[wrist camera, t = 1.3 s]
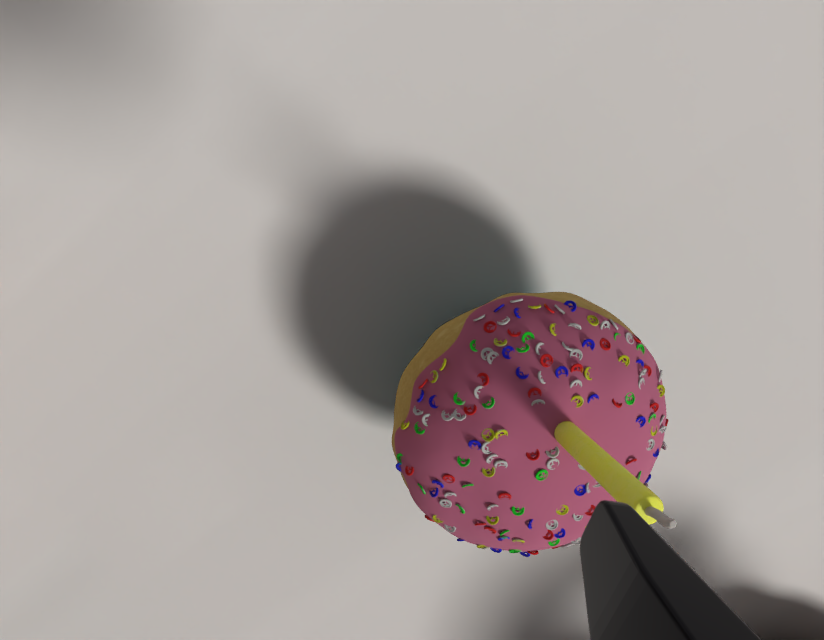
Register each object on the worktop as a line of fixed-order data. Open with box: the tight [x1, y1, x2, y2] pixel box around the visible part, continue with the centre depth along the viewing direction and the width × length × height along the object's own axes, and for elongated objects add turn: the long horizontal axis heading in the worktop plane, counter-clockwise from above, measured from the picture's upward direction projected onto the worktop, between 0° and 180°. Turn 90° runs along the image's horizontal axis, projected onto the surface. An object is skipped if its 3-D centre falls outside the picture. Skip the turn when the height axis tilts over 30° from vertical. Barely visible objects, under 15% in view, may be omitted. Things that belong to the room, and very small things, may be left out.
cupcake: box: [392, 292, 677, 557], centre depth 18 cm, size 9×8×12 cm
